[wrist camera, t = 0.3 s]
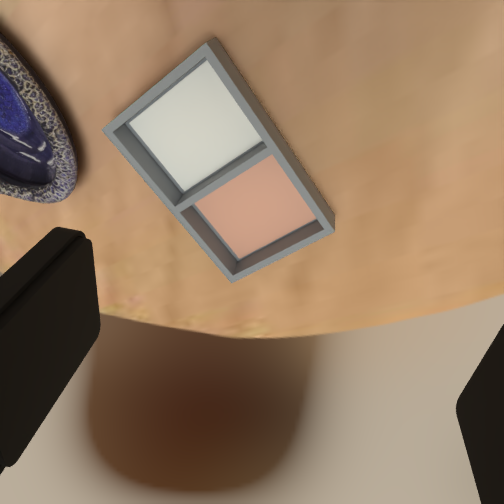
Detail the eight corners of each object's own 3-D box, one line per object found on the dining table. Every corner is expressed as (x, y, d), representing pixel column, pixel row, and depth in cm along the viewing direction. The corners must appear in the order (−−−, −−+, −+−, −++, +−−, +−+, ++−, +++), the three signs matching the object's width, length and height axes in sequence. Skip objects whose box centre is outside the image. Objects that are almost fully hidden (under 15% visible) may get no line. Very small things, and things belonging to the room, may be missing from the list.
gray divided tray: (116, 119, 45) (101, 129, 42) (215, 37, 39) (206, 42, 36) (237, 265, 53) (231, 283, 50) (334, 215, 47) (334, 231, 44)
